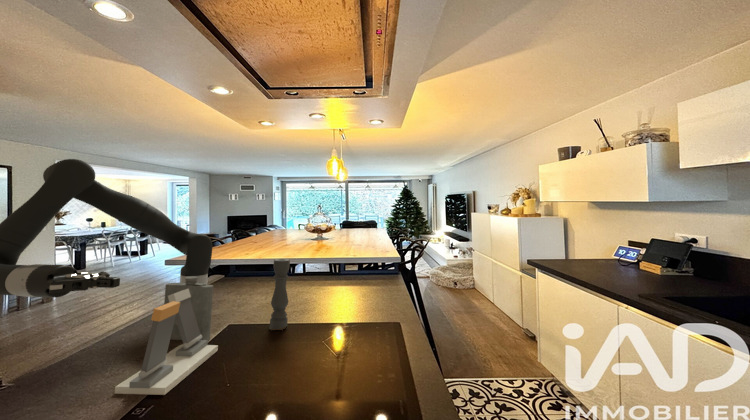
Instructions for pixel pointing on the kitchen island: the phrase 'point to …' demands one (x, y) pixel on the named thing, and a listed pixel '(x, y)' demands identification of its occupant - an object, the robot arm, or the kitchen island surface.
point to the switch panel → (169, 370)
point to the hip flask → (194, 305)
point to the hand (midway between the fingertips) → (117, 282)
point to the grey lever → (186, 318)
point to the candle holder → (280, 294)
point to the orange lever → (159, 337)
